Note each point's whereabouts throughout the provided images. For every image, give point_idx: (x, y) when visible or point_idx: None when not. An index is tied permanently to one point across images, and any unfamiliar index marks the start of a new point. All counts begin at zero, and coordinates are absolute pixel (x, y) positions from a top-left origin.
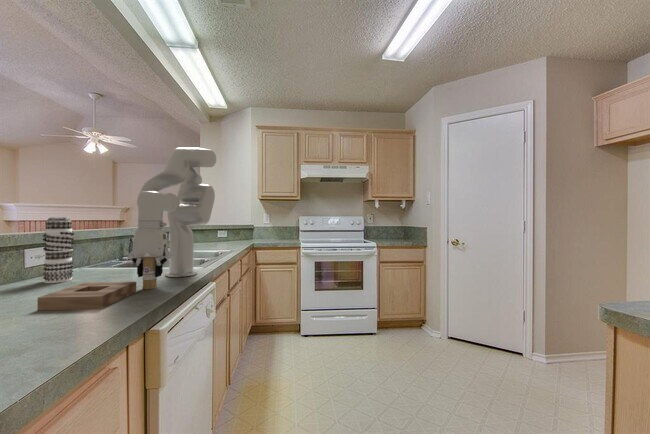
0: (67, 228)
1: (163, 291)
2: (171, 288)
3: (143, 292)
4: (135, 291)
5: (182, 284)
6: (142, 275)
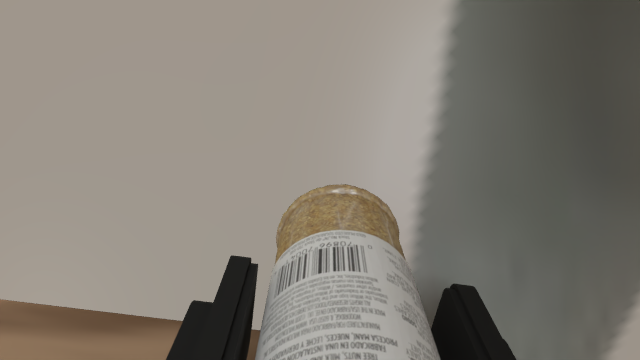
0: None
1: None
2: (529, 278)
3: None
4: None
5: (634, 139)
6: (252, 311)
